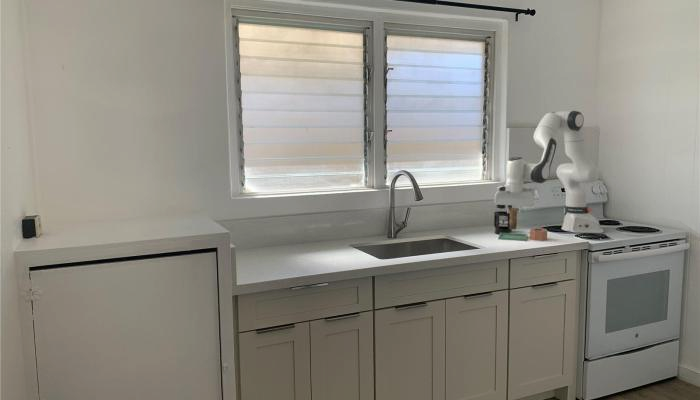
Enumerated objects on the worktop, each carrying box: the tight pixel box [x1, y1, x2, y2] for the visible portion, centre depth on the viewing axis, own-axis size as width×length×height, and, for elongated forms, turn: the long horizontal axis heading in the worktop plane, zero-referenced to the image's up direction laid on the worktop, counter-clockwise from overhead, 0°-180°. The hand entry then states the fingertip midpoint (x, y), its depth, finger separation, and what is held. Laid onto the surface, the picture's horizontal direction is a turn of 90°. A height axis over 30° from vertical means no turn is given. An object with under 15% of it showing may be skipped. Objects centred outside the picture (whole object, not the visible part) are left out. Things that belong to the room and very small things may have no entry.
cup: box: [529, 227, 548, 242], centre depth 281 cm, size 8×8×6 cm
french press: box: [493, 205, 513, 235], centre depth 302 cm, size 12×9×23 cm
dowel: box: [509, 207, 518, 230], centre depth 285 cm, size 4×4×11 cm
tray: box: [497, 232, 528, 242], centre depth 286 cm, size 14×14×2 cm
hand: (513, 213), depth 284 cm, fingers closed on dowel, 4 cm apart
